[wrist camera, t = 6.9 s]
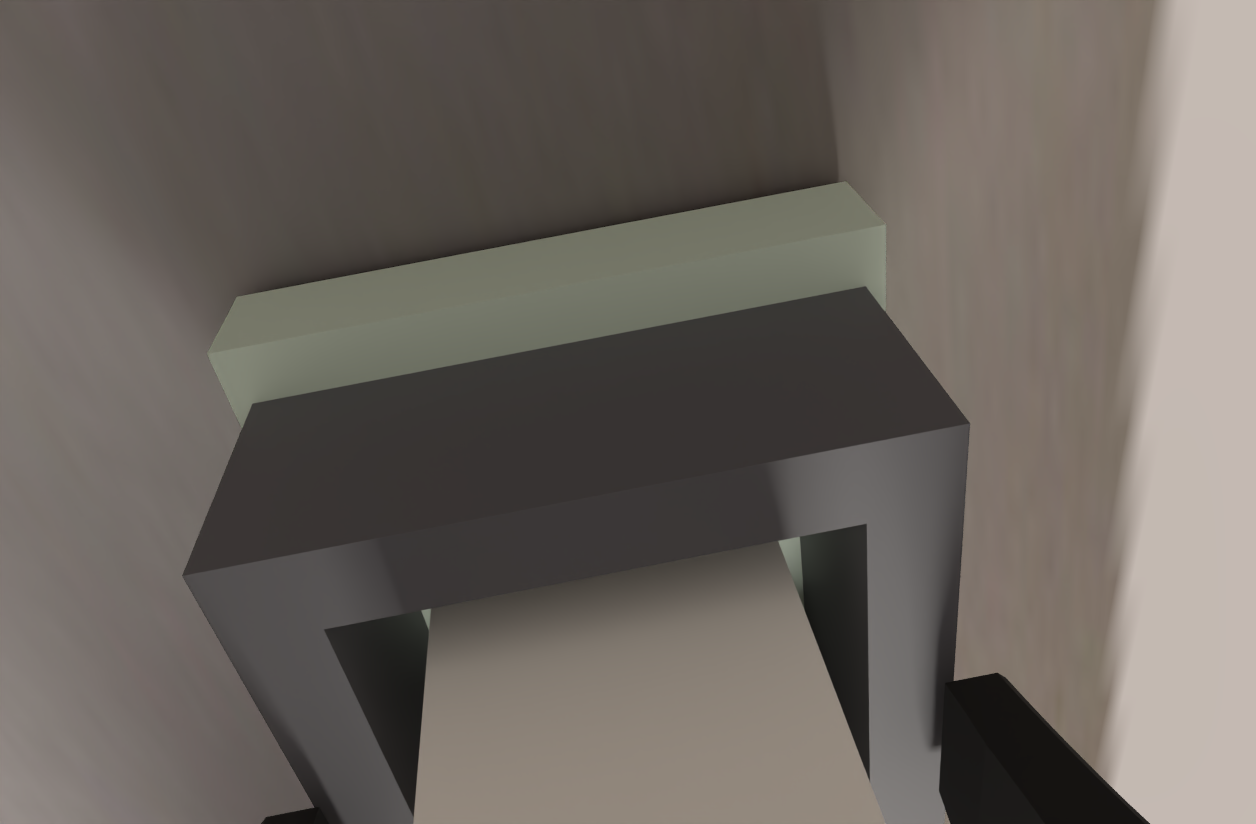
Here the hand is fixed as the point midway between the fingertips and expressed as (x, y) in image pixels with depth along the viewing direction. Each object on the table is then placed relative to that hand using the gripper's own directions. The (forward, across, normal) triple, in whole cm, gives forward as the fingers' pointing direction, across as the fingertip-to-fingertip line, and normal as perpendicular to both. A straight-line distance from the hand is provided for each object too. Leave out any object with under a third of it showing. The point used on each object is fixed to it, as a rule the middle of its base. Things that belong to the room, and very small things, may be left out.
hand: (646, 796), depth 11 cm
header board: (+5, 0, +5) cm, 7 cm away
